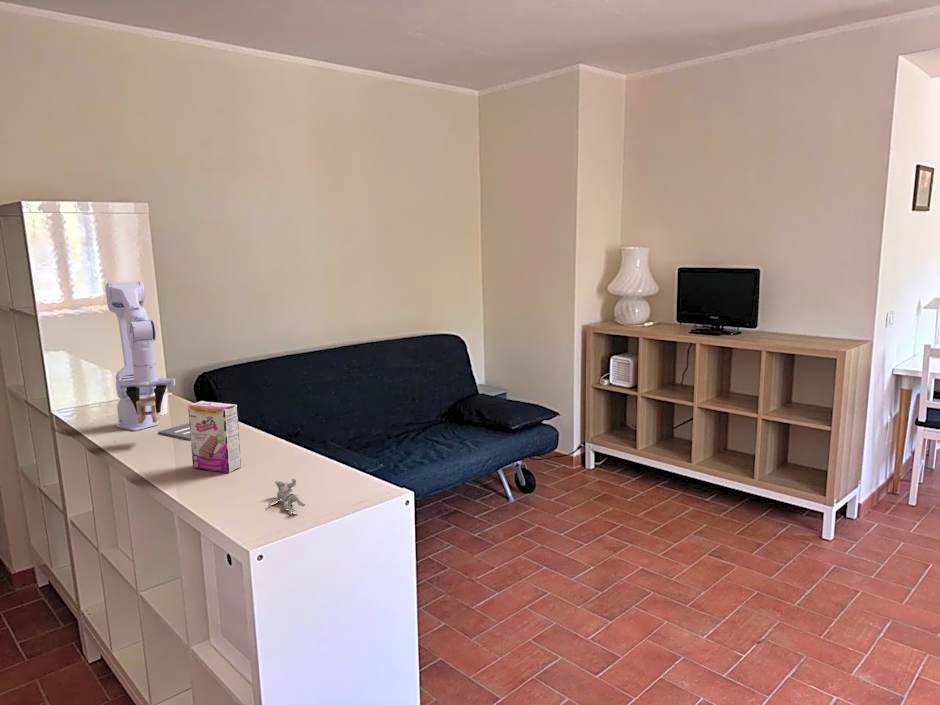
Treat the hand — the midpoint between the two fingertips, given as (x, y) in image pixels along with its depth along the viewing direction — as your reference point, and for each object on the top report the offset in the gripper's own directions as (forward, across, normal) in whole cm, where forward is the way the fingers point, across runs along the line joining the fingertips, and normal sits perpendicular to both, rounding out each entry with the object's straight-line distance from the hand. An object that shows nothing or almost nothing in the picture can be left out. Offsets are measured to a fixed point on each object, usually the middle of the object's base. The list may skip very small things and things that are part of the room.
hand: (148, 412), depth 180 cm
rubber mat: (+9, +8, +8) cm, 15 cm away
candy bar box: (+9, +20, -27) cm, 35 cm away
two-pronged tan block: (+2, 0, 0) cm, 2 cm away
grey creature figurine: (+9, +37, -56) cm, 67 cm away
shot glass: (+9, -4, +34) cm, 35 cm away
